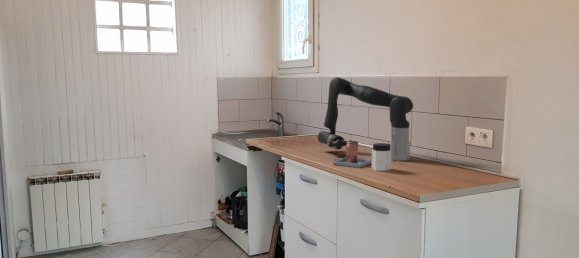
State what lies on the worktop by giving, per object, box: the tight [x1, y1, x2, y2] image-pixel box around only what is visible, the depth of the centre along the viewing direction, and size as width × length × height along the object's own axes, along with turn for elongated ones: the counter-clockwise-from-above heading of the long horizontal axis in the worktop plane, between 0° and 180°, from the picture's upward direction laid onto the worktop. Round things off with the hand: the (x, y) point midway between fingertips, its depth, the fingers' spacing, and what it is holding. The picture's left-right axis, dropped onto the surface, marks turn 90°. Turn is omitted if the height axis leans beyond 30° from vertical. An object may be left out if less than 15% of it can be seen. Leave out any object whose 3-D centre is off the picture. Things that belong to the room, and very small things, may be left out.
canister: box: [346, 140, 359, 164], centre depth 221 cm, size 6×6×11 cm
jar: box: [371, 142, 392, 172], centre depth 208 cm, size 9×8×12 cm
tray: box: [333, 156, 372, 169], centre depth 221 cm, size 14×14×2 cm
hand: (346, 145), depth 229 cm, fingers open, 8 cm apart
